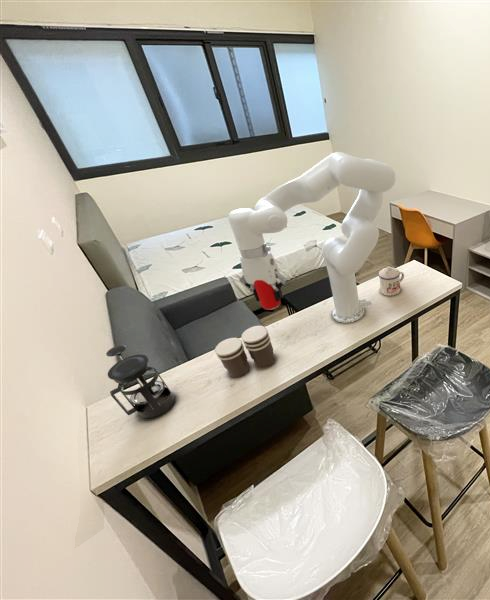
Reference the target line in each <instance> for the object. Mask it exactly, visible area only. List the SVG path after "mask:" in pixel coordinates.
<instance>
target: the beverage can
mask: <svg viewBox="0 0 490 600" xmlns="http://www.w3.org/2000/svg"><path fill="white" fill-rule="evenodd" d="M254 286H255V289H256V292H257V294H258V297H259V300H260V301H259V302H260V305H261V308H262V309H264V310H268V311H269V310H270V311H271V310H275V309H277V308H279V306H280V305H281V304H282V303H281V300H280V301H276V298H275V295H274V291H275V290H274V289H273V287H272V286H271V284H268V283H266V282H265V281H263V280H256V281H255V282H254Z"/></svg>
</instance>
